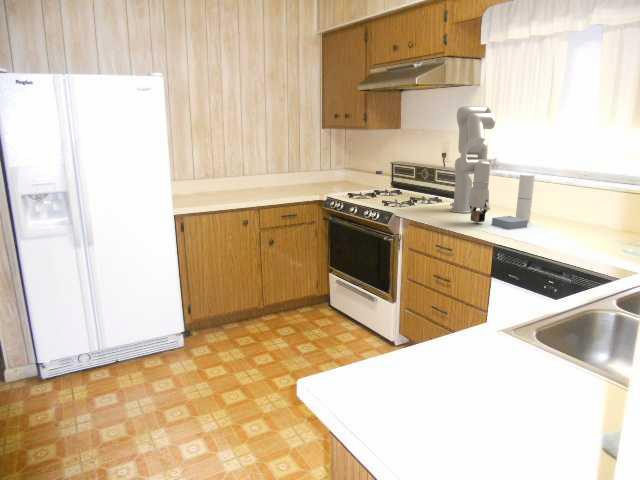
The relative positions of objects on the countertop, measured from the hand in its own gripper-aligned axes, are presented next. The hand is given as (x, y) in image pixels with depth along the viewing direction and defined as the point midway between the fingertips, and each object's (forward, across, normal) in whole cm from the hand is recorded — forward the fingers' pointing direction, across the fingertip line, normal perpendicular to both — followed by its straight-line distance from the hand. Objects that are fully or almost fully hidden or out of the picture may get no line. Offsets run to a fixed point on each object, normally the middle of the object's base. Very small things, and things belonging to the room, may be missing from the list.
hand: (477, 219), depth 260 cm
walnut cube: (+1, 0, 0) cm, 1 cm away
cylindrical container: (+2, +6, +26) cm, 27 cm away
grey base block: (+2, +12, +11) cm, 16 cm away
